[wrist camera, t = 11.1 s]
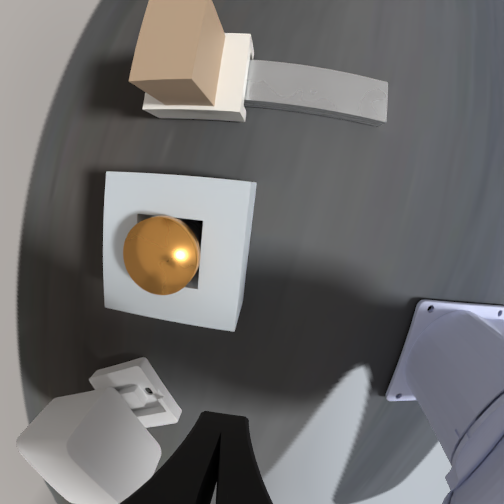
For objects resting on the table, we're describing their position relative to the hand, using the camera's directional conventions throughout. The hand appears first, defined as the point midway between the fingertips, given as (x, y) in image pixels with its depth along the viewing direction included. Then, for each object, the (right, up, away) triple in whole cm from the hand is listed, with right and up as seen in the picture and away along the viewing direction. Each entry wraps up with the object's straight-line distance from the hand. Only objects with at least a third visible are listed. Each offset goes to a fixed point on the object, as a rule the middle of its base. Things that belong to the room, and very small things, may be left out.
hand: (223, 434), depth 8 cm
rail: (+2, +15, +7) cm, 17 cm away
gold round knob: (-3, +6, +9) cm, 11 cm away
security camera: (-9, -5, +13) cm, 16 cm away
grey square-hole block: (-3, +7, +9) cm, 12 cm away
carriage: (-2, +15, +7) cm, 17 cm away
